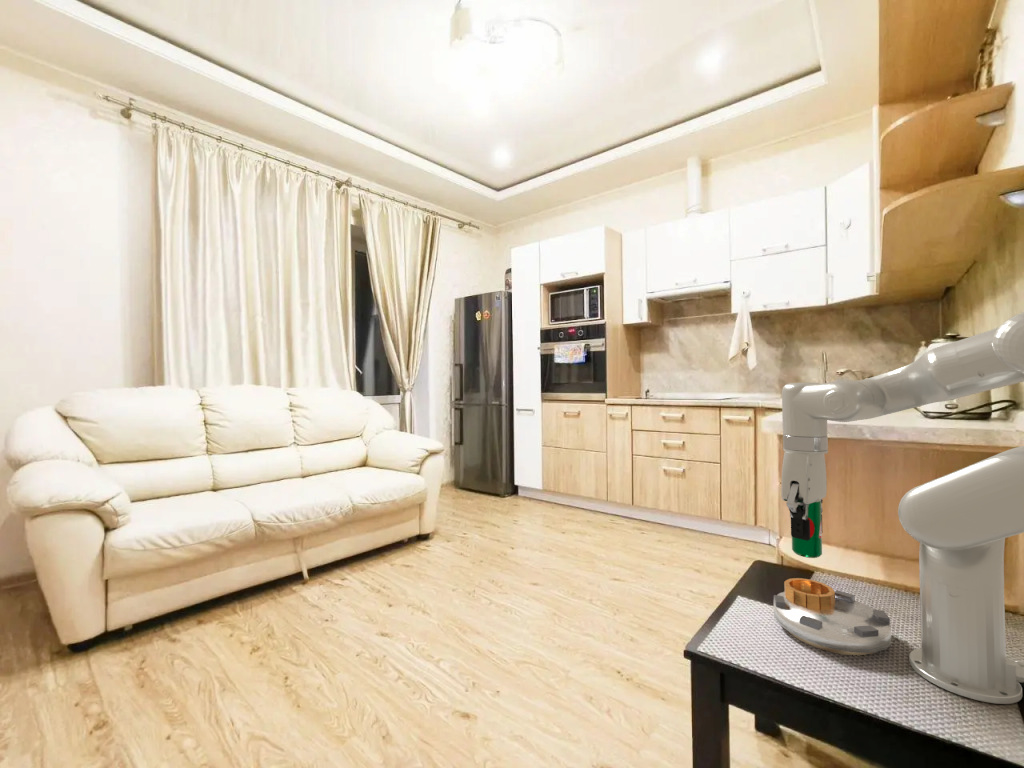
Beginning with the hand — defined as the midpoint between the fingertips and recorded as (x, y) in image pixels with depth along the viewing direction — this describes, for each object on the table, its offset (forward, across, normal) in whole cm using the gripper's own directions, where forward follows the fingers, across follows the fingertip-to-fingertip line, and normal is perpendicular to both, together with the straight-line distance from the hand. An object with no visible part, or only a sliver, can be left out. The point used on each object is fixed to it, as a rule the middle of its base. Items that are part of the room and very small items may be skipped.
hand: (806, 534), depth 90 cm
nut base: (+17, +2, +4) cm, 18 cm away
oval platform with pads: (+15, +2, +4) cm, 16 cm away
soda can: (+4, 0, 0) cm, 4 cm away
